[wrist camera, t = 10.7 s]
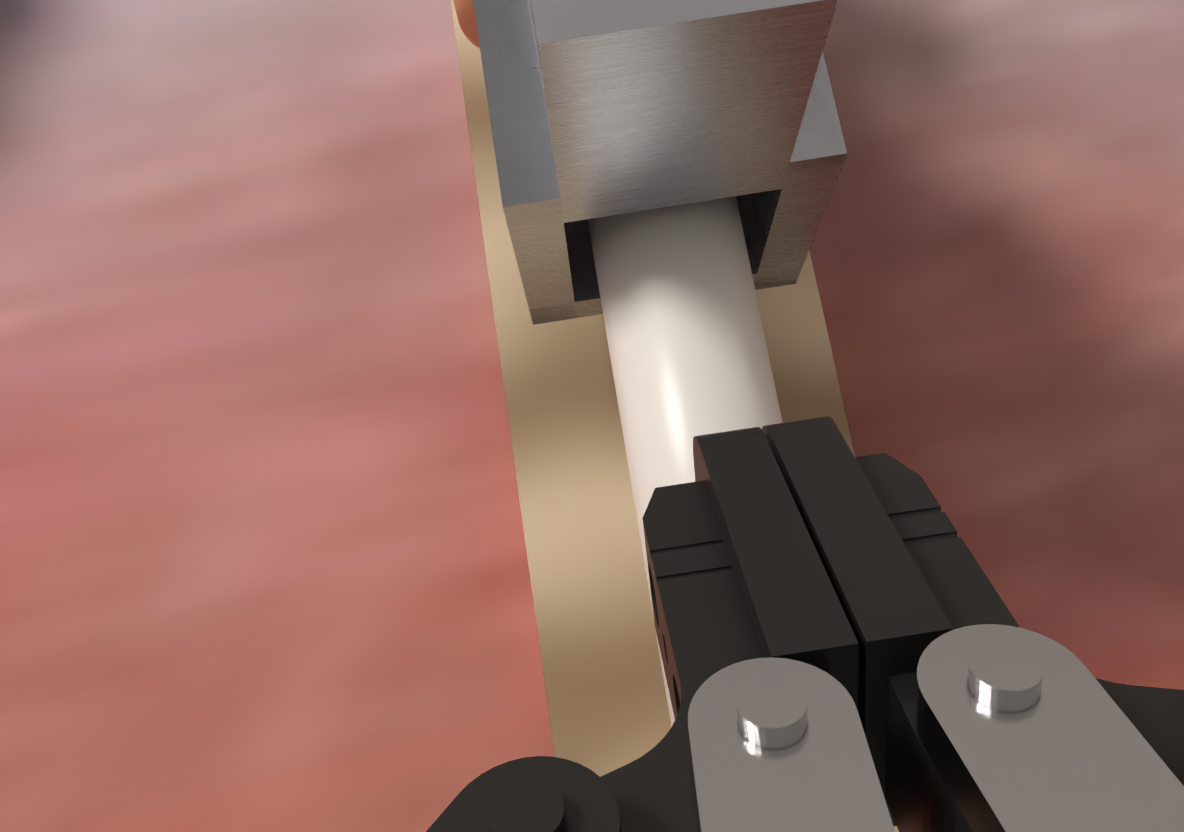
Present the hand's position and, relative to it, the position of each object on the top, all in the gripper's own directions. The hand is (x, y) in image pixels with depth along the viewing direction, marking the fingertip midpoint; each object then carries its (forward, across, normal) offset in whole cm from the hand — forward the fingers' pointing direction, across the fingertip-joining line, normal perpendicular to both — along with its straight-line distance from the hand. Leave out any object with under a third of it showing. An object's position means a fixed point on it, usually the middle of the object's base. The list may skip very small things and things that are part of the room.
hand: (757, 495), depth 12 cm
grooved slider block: (+14, -1, +1) cm, 15 cm away
